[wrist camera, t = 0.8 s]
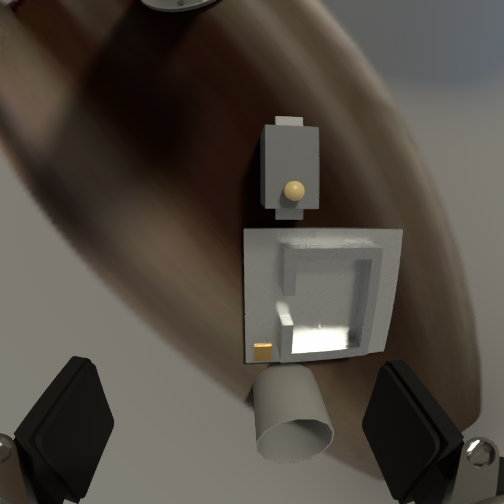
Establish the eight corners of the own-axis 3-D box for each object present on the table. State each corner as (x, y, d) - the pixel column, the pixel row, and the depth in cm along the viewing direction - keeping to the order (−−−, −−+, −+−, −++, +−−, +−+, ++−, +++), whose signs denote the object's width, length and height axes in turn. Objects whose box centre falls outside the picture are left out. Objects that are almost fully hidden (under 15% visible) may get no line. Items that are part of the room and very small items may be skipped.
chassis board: (243, 227, 30) (244, 233, 27) (399, 228, 31) (413, 233, 28) (245, 359, 34) (246, 374, 31) (381, 348, 35) (391, 360, 31)
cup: (323, 365, 35) (345, 418, 25) (306, 409, 37) (320, 461, 27) (258, 359, 34) (264, 416, 24) (247, 406, 36) (249, 461, 26)
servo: (260, 125, 28) (266, 109, 21) (303, 127, 28) (321, 112, 21) (260, 213, 30) (266, 223, 23) (303, 213, 30) (321, 223, 23)
